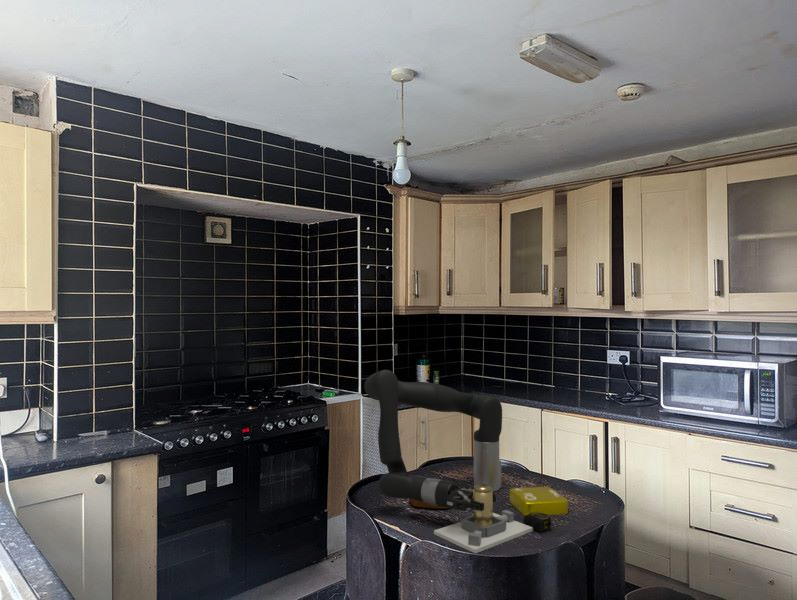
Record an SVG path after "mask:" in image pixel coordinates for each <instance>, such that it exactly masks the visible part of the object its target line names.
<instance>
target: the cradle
mask: <svg viewBox="0 0 797 600" xmlns="http://www.w3.org/2000/svg"><path fill="white" fill-rule="evenodd" d="M533 531H534V529H533V527H530V526H528V525H525V524H524V523H522V522H519V521H516V520H515V512H512V511H511V510H507V509H505V510H501V514H498V513H495V512H493V525H490V526H487V527H482V526H480V525H478V524H475V523H474V514H472V515H468V516H465V517H463V518H462V519H461V521H459V522H455V523H453V524H451V525H446V526H444V527H441V528H437V529H435V530H433V535H435V536H437V537H439V538H441V539H444V540H445V541H447V542H450V543H452V544H454V545H456V546H458V547H460V548H463V549H464V550H467V551H469V552H471V553H473V554H478V553H480V552H482V551H485V550H488V549H491V548H493V547H496V546H499V545H500V544H503V543H506V542H509V541H511V540H513V539H517V538H519V537H521V536H523V535H526V534H528V533H531V532H533Z"/></svg>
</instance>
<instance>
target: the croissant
mask: <svg viewBox="0 0 797 600" xmlns="http://www.w3.org/2000/svg"><path fill="white" fill-rule="evenodd" d="M408 501H409V502H410V504H411V505H412V506H413V507H415V506H416V508H422V509H423V508H424V509H447V508H446V507H441V506H436V505H432V504H429V503H426V502H422V501H417V500H414V499H409V498H408Z"/></svg>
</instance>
